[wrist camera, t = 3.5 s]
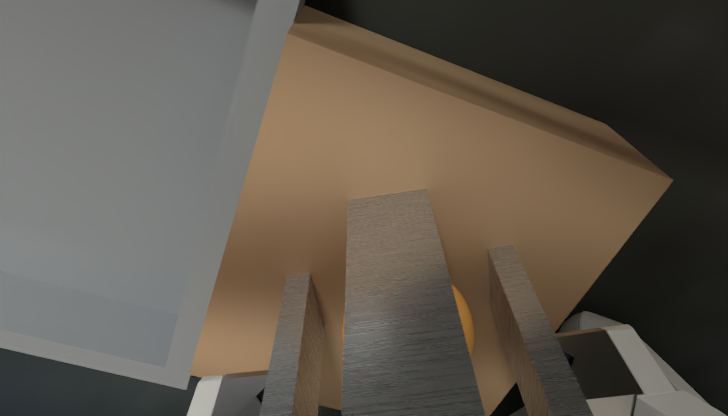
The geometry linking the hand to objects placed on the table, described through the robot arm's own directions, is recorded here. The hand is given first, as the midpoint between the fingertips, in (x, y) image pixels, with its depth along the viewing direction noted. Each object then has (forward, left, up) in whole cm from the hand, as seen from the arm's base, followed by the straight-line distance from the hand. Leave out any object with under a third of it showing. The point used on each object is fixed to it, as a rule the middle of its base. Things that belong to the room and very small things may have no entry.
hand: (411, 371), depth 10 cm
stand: (0, 0, -6) cm, 6 cm away
